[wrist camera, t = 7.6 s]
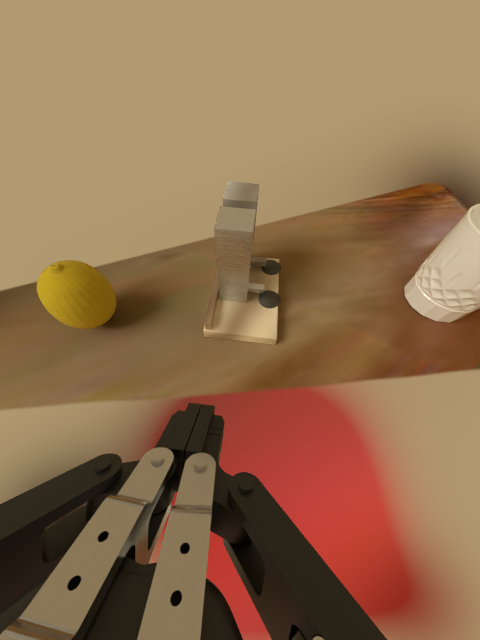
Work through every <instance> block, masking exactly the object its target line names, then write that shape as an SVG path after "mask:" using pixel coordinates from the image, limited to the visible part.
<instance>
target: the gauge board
mask: <svg viewBox="0 0 480 640" xmlns="http://www.w3.org/2000/svg"><path fill="white" fill-rule="evenodd" d="M258 191H259V184H251V183H240V182H229V181H228V182H227V185H226V189H225V193H224V196H223V206H224V207H234V208H244V209H255V210H256V211H257V201H258ZM255 221H256V213H255ZM254 231H255V223H254ZM253 241H254V234H253ZM252 251H253V244H252ZM280 270H281V266H280V264H279V259H274V258H264V257H254V256H252V254H251V265H250V275H249V283H256V284H265V288H264V293H255V292H248V293H247V301H246V302H239V301H230V300H221V299H219V287H218V273H217V272H216V277H215V281H214V285H213V290H212V294H211V298H210V303H209V307H208V311H207V316H206V320H205V325H204V329H203V332H204V336H205V337H214V338H222V339H231V340H239V341H248V342H257V343H265V344H274V345H275V343H276V340H277V318H278V305H279V303H280V297H279V295H278V284H279V272H280Z"/></svg>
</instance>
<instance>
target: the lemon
mask: <svg viewBox="0 0 480 640" xmlns="http://www.w3.org/2000/svg"><path fill="white" fill-rule="evenodd" d="M37 293H38V296H39V298H40V300H41V302H42V303H43V305H44V307H45V308H46V309H47V311H48V312H49V313H50V314H51V315H52V316H53V317H55V318H56V319H57V320H59V321H60V322H62V323H64V324H66V325H68V326H71V327H74V328H81V329H89V328H95V327H98V326H100V325H102V324H104V323H105V322H107V321H108V320H109V319H110V318H111V317H112V315H113V313H114V311H115V308H116V296H115V292H114V290H113V288H112V286H111V285H110V283H109V281H108V280H107V279H106V278H105V277H104V276H103V275H102V274H101V273H100V272H98V271H97V270H96V269H95V268H93V267H92V266H90V265H88V264H85V263H83V262H79V261H60V262H56V263H54V264H51V265H50V266H48V267H47V268H46V269H45V270H44V271H43V272H42V273H41V275H40V276H39V278H38V282H37Z"/></svg>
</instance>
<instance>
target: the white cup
mask: <svg viewBox="0 0 480 640" xmlns="http://www.w3.org/2000/svg"><path fill="white" fill-rule="evenodd" d="M404 293H405V298H406V299H407V301H408V302H409V304H410V306H411V307H412V308H414V309H415V310H416V311H417V312H419V313H420V314H421V315H422V316H425V317H427V318H429V319H432V320H434V321H438V322H448V323H450V322H453V321H455V320H458V319H461V318H462V317H464V316H466V315H468V314H469V313H471V312H473V311H475V310H478V309H480V204H477V205H475V206H473V207H471V208H470V209H469V210H468V211H467V213H466V214H465V215H464V216H463V217H462V218H461V219H460V221H459V222H458V223H457V224H456V225H455V226H454V228H453V229H452V230H451V231H450V232H449V233H448V234H447V236H446V237H445V238H444V239H443V240H442V241H441V242H440V243H439V245H438V246H437V247H436V248H435V250H434V251H433V252H432V253H431V254H430V255H429V257H428V258H427V259H426V260H425V262H424V263H423V264H422V265H421V266H420V267H419V269H418V271H417V272H416V274H415V275H414V276H413V277H412V278H411V279H410V280H409V282H408V283H407V284H406V286H405V287H404Z"/></svg>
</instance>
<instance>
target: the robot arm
mask: <svg viewBox="0 0 480 640" xmlns="http://www.w3.org/2000/svg"><path fill="white" fill-rule="evenodd" d="M214 410H215V406H212V405H203V404H195V403H189V404H188V407H187V409H186V411H177V412H176V413H175V414H174V415H172V417H171V419H170V421H169V423H168V424H167V426H166V429H165V430H164V432H163V434H162V435H161V437H160V439H159V441H158V443H157V445H156V447H155V448H154V449H151V450H150V451H148V452H147V453H146V454H145V455H144V456H143V458H142V459H141V460H138V461H133V462H126V463H122V460H121V458H120V457H119V456H118V455H116V454H103V455H100V456H98V457H96V458H94V459H92V460H90V461H88V462H86V463H84V464H82V465H79V466H78V467H75V468H74V469H71V470H69V471H67V472H65V473H63V474H61V475H59V476H57V477H55V478H53V479H51V480H49V481H47V482H45V483H43V484H41V485H39V486H37V487H35V488H33V489H31V490H29V491H27V492H24V493H22V494H21V495H18V496H16V497H14V498H12V499H10V500H8V501H6V502H4V503H2V504H0V640H243V639H242V636H241V634H240V631H239V629H238V626H237V624H236V621H235V619H234V616H233V614H232V611H231V609H230V607H229V605H228V603H227V601H226V599H225V598H224V596H223V595H222V593H221V592H220V590H219V589H218V588H217V587H216V586H215V585H214V584H213V583H212V582H211V581H209V580H208V579H207V578H206V571H207V560H208V549H209V537H210V531H212V532H213V533H215V534H217V535H219V536H221V537H222V538H223V543H224V546H225V548H226V550H227V552H228V554H229V556H230V558H231V560H232V562H233V564H234V566H235V568H236V570H237V572H238V574H239V576H240V578H241V580H242V581H243V583H244V585H245V587H246V589H247V591H248V593H249V595H250V597H251V599H252V601H253V603H254V605H255V607H256V609H257V611H258V613H259V615H260V617H261V619H262V621H263V623H264V625H265V626H266V629H267V631H268V632H269V634H270V636H271V638H272V640H387V639H386V638H385V637H384V635H383V634H382V633H381V632H380V630H379V629H378V628H377V627H376V625H375V624H374V623H373V622H372V620H371V619H370V618H369V617H368V615H367V614H366V613H365V612H364V610H363V609H362V608H361V607H360V605H359V604H358V603H357V602H356V600H355V599H354V598H353V597H352V596H351V594H350V593H349V592H348V590H347V589H346V588H345V587H344V585H343V584H342V583H341V582H340V580H339V579H338V578H337V577H336V575H335V574H334V573H333V572H332V570H331V569H330V568H329V567H328V566H327V564H326V563H325V562H324V561H323V559H322V558H321V557H320V556H319V554H318V553H317V552H316V551H315V549H314V548H313V547H312V546H311V544H309V542H308V541H307V540H306V538H305V537H304V536H303V534H302V533H301V532H300V531H299V529H298V528H297V527H296V526H295V524H294V523H293V522H292V521H291V519H290V518H289V517H288V516H287V514H286V513H285V512H284V511H283V509H282V508H281V507H280V506H279V505H278V503H277V502H276V501H275V499H274V498H273V497H272V496H271V494H270V493H269V492H268V491H267V489H266V488H265V487H264V486H263V484H262V483H261V482H260V481H259V479H258V478H257V477H255V476H254V475H252V474H250V473H247V472H242V473H238V474H236V475H234V476H231V475H229V474H227V473H225V472H224V471H223V470H222V469H221V468H220V466H219V458H220V452H221V447H222V439H223V429H224V420H223V418H222V416H218V415H214ZM175 491H176V492H178V493H177V498H176V502H175V505H174V506H173V507H172V509H171V502H172V499H173V496H174V493H175ZM84 503H85V506H84V507H82V508H80V509H79V510H77V511H76V512H74V513H72V514H71V515H69V516H67V517H66V518H65V519H63V520H61V521H59V522H58V523H56V524H54V525H53V526H51V527H49V528H48V529H46V530H45V528H46V527H47V526H49V525H50V524H51V523H52V522H54V521H56V520H57V519H59V518H61V517H63V516H64V515H66V514H67V513H69V512H71V511H72V510H74V509H76V508H77V507H79V506H81V505H82V504H84ZM170 509H171V512H170V515H169V519H168V523H167V527H166V531H165V534H164V538H163V542H162V546H161V550H160V554H159V558H158V561H157V563H152V564H149V560H150V558H151V555H152V552H153V550H154V548H155V545H156V543H157V540H158V538H159V535H160V533H161V531H162V528H163V526H164V523H165V521H166V518H167V516H168V514H169V511H170Z"/></svg>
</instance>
